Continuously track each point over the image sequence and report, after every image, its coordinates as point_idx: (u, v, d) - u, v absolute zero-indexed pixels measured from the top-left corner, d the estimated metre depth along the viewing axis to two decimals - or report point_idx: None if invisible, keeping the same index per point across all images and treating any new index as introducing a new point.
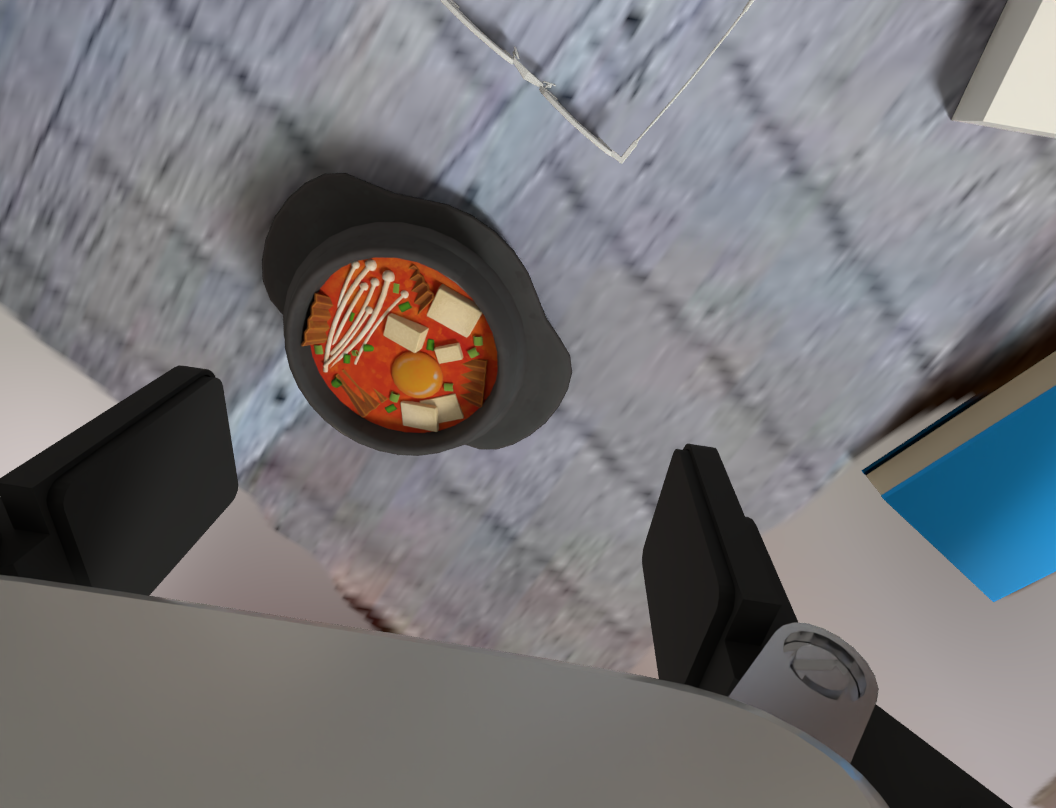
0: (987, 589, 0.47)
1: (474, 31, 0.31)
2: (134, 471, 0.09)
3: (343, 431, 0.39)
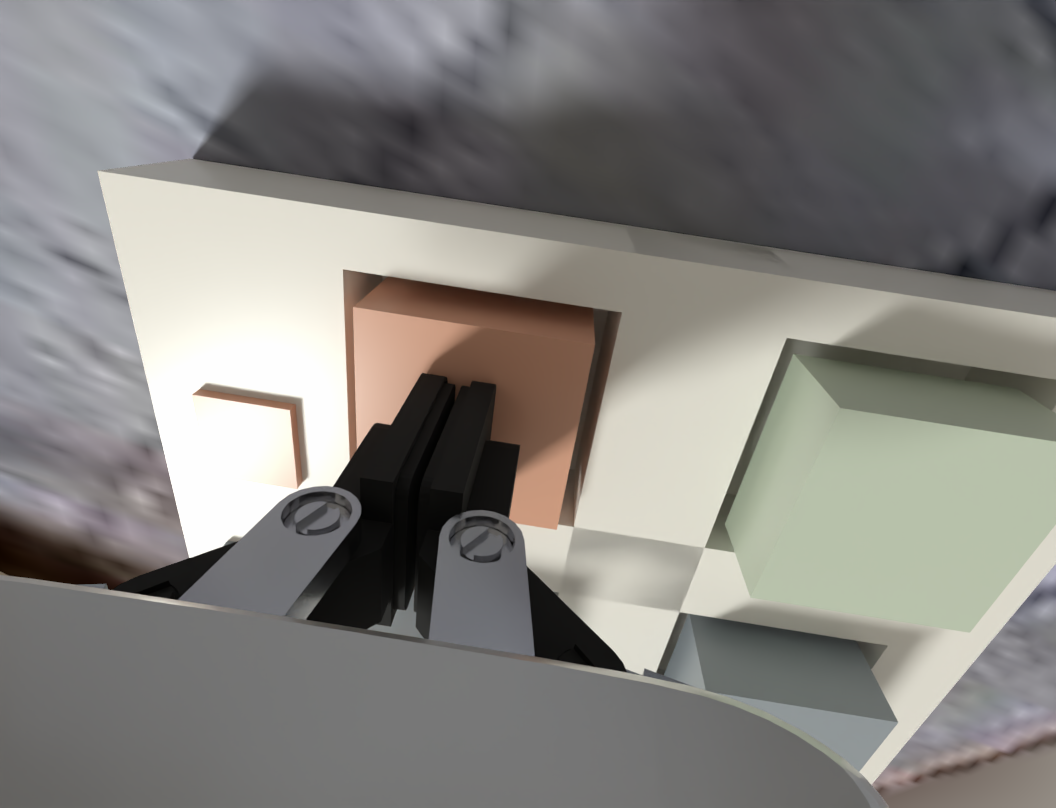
0: None
1: None
2: (426, 468, 0.10)
3: None
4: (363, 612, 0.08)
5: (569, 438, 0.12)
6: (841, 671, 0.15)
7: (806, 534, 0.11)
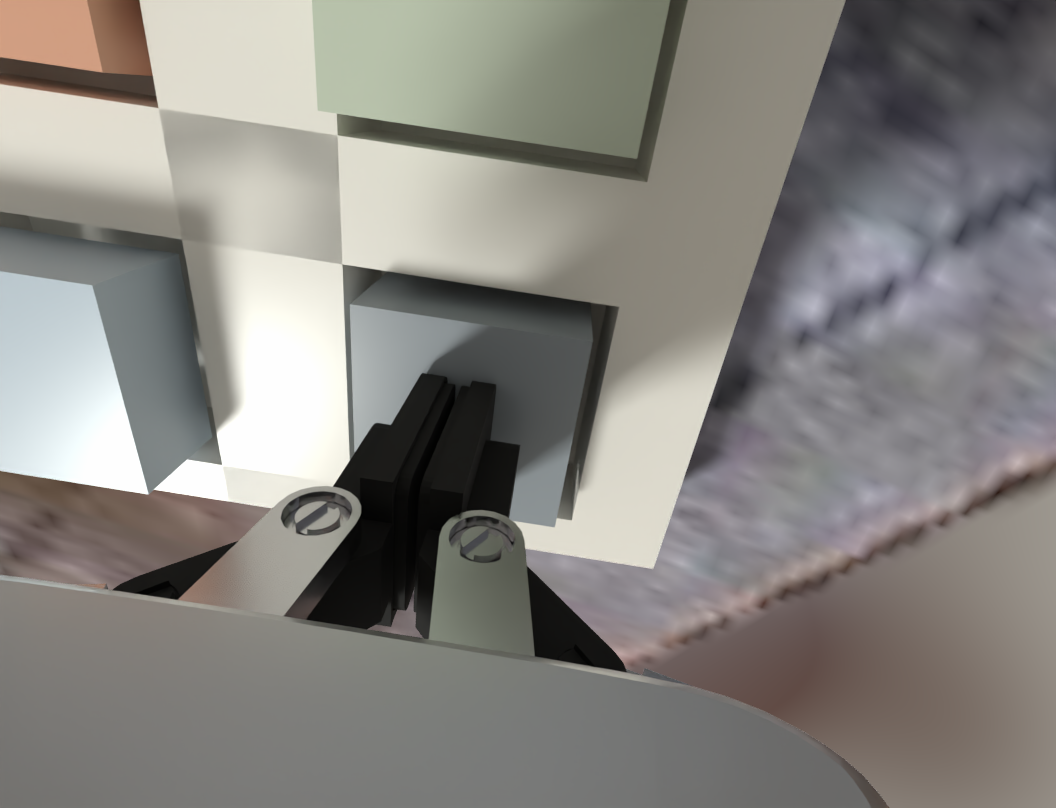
0: None
1: None
2: (426, 468, 0.10)
3: None
4: (363, 612, 0.08)
5: None
6: (550, 313, 0.12)
7: None
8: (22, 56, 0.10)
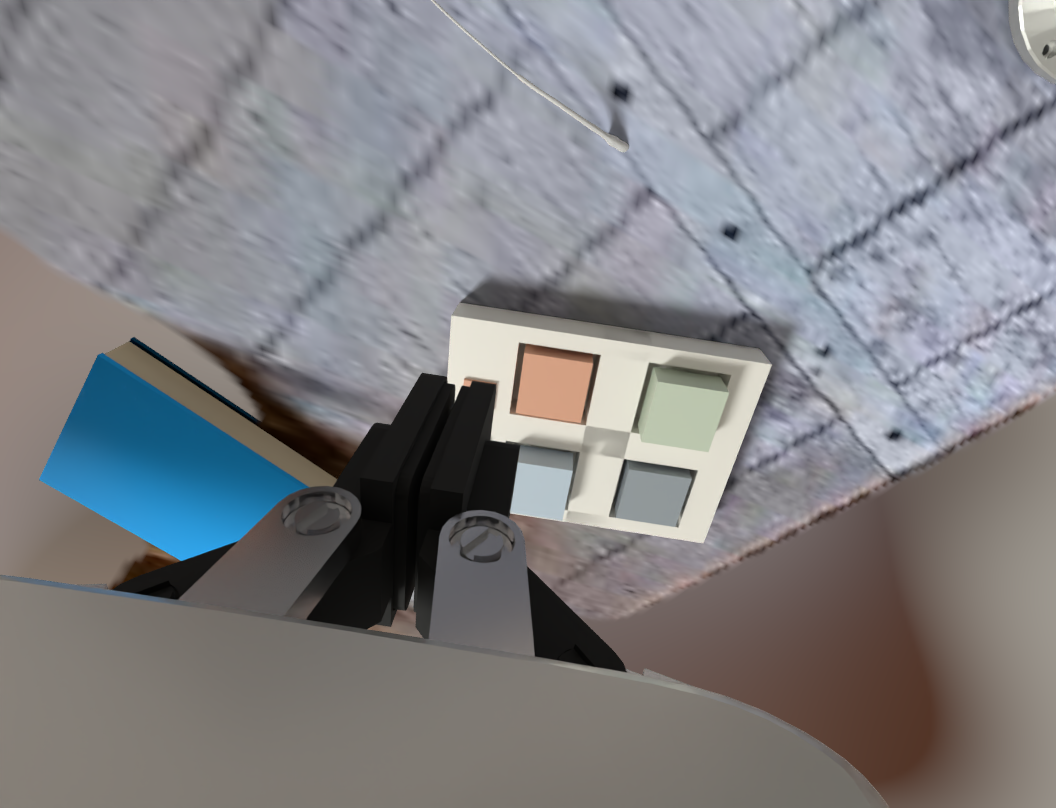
0: (49, 470, 0.48)
1: None
2: (426, 468, 0.10)
3: None
4: (363, 612, 0.08)
5: (585, 391, 0.40)
6: (677, 468, 0.44)
7: (654, 419, 0.39)
8: (561, 419, 0.41)
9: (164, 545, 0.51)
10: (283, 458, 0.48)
